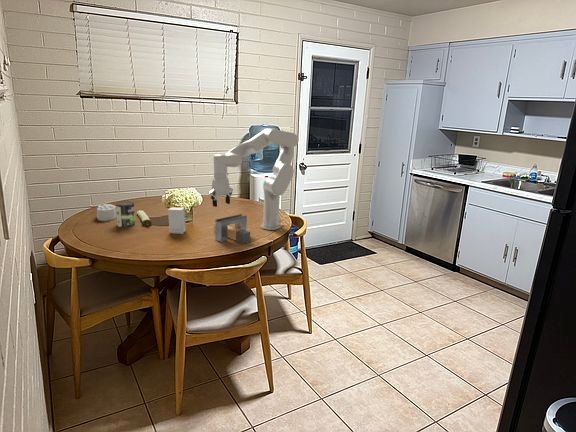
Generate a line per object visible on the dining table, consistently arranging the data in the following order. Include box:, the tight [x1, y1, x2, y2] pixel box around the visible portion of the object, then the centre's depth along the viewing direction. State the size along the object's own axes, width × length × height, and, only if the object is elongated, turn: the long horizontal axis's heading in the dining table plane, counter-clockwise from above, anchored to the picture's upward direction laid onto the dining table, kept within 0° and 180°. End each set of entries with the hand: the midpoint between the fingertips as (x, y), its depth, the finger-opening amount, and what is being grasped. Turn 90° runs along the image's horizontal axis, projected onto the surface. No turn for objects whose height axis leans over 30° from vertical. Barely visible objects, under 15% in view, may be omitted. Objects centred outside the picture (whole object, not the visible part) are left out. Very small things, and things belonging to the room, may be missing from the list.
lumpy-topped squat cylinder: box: [96, 203, 117, 222], centre depth 250 cm, size 10×13×9 cm
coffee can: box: [115, 200, 136, 228], centre depth 237 cm, size 10×10×14 cm
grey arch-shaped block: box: [214, 213, 248, 243], centre depth 226 cm, size 19×5×12 cm, turn 139°
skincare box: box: [167, 206, 186, 235], centre depth 229 cm, size 8×6×15 cm
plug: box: [213, 223, 251, 245], centre depth 227 cm, size 5×26×6 cm, turn 49°
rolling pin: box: [136, 209, 153, 227], centre depth 248 cm, size 32×6×5 cm, turn 27°
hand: (221, 205), depth 229 cm, fingers open, 9 cm apart
